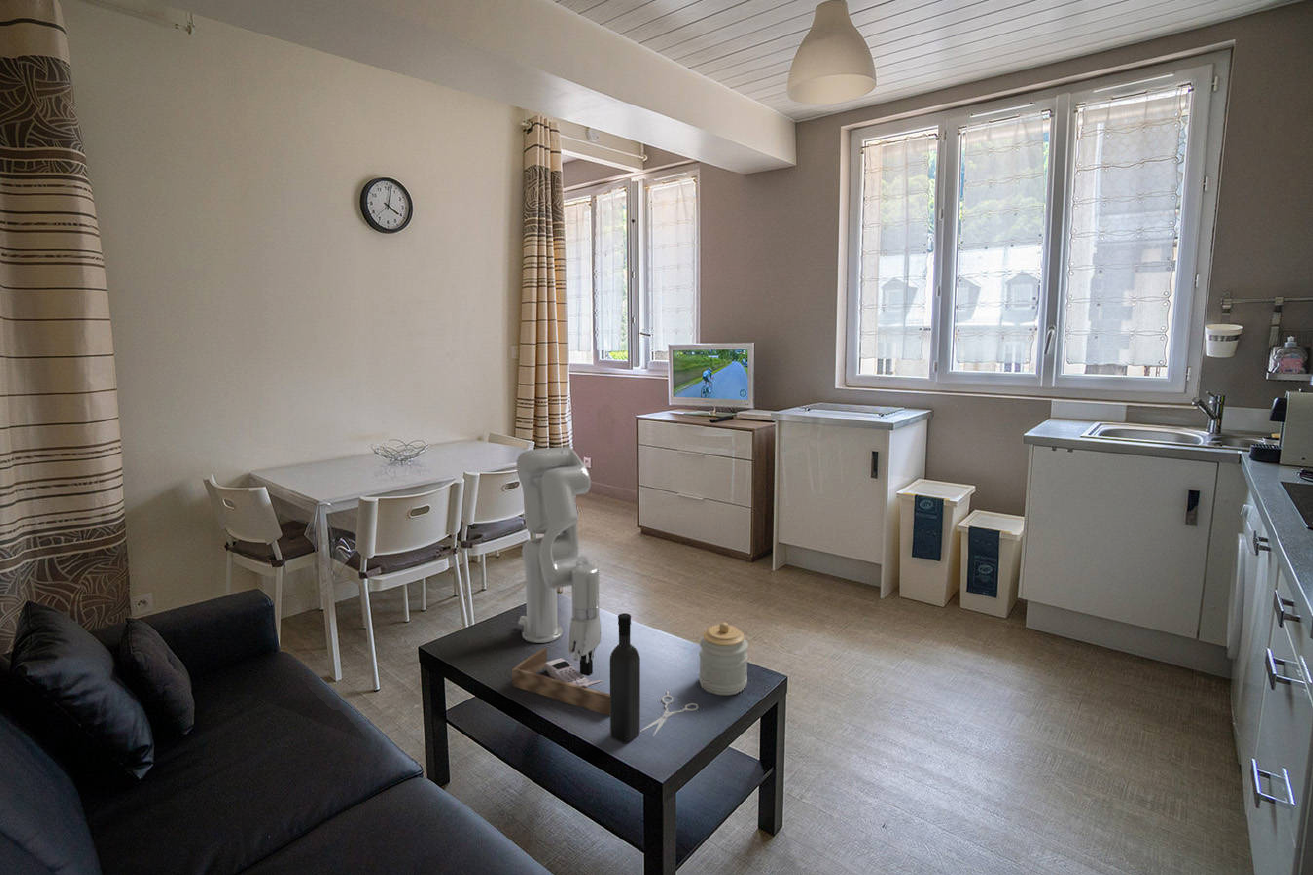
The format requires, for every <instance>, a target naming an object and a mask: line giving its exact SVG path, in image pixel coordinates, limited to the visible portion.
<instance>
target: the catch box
mask: <svg viewBox="0 0 1313 875" xmlns="http://www.w3.org/2000/svg"><path fill="white" fill-rule="evenodd" d="M547 652H548V650H547V648H546V647H542V649H540V650H538V651H537V652H535V653H534V654H532V655H530V656H529V657H528V658H526V659H525V660H523V661H522V662H520V663H519V664H518V665H516V666H514V667H513V668H512V669H511V670H512V671H511V672H512V687H515V688H518V689H521V690H523V691H528V692H530V693H535V694H538V695H540V696H544V697H547V698H551V699H553V700H558V701H561V702H565V703H567V704H571V705H574V706H577V707H581V708H584V709H586V710H591V711H593V710H594V711H593V712H597V713H600V714H603V715H607V716H610V693H606V692H602V691H598V690H595V689H592V688H589V687H587V688H585V687H582V686H578V685H575V684H571V683H568V682H564V681H561V680H557V679H554V678H553V677H551V676H546V675H543V674H539V673H537V672H539V671H540V670H541V669H542V670H543V668H545V663H547V662H548V661H547V660H548V659H547V658H548V656H547Z"/></svg>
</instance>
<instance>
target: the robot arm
mask: <svg viewBox="0 0 1313 875" xmlns="http://www.w3.org/2000/svg"><path fill="white" fill-rule="evenodd" d="M516 472H517V475H518V476H517V477H518V478H519V482H520V484H521V488H522V491H523V507H524V519H525V527H526V530H527V531H528V532H529V533H530V534H535V535H537V534H538V535H539V534H543V536H540V537H534V538H531V539H528V540H527V541H526V542H525V543H524V544H523V546H522V550H521V551H522V552H521V554H522V559H523V560H522V561H523V565H524V572H525V589H526V597H525V598H526V615H520V618H519V621H518V625H519V626H523V627H524V629H523V630H522V632H521V634H522V638H523V639H524V640H525V641H527V642H530V643H535V644H536V643H537V644H539V643H541V644H543V643H550V642H554V641H555V640H556V641H557V640H558V639H559V638H561V637H562V636H563V633H564V632H563V627H561V625H559V623H558V589H561V588H566V587H571V618H570V622H569V630H568V653H569V654H573V657H572V658H573V661H575V662H579V672H580V673H581V674H582V675H583V676H587V677H590V676H591V675H593V673H594V672H593V671H594V664H593V663H594V661H593V660H594V657H595V651H596V649H597V648H598V647H599V645H600V644H601V642H602V625H601V624H602V623H601V615H600V612H601V611H600V571H599V569H598V567H597V566H595V565H594V564H593V561H592V560H591V559H590V558H589V557H588V556H586V555H585V556H583V555H581V556H578V555H579V540H578V538H579V537H578V534H579V533H578V521H579V514H578V509H577V505H576V499H575V496H576V495H581V494H587V493H588V492H589V491H590V489H591V486H592V482H591V475H590V471H589V470H588V468H587V467H586V465H585V463H584V461H582V459H581V458H580V457H579V455H578V454H577V452H575V450H573V449H572V448H570V447H566V446H564V447H561V446H560V447H553V448H552V447H551V448H539V449H529V450H525V451H524V452H521V453H520V454H519V455H518V457H517V459H516Z"/></svg>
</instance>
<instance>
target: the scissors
mask: <svg viewBox="0 0 1313 875" xmlns="http://www.w3.org/2000/svg"><path fill="white" fill-rule="evenodd" d="M667 698H670V701H666V700H665V699H667ZM674 700H675V699H674V697H673V696H672V695H670V692H669V691H666V695H664V696H663V697H661V702H662V703H663V704H664V708H665V711H664V712H663V715H662V716H661V717H659V718H657V719H656V720H654V721H653V722H652V723H650V724H648V725H646V727H644V728H642V729H641V730H640V732H639V733H641V732H643V731H644V730H647V729H649V728H651V727H653V726H655V725H657V724H658V725H657V727H656V729H655V731H654V734H653V736H652V737H655V735H656V734H657V733H658V731H659V730H660V729H661V728H662V726H663V725H664V724H665V722H666V721H667V720H668V718H670V717H673V716H675V715H676V714H682V713H683V712H693V711H696V710H698V709H699V705H698V703H695V702H690V703H687V704H685V705H684V708H683V709H681V710H675V711H670V710H669V708H668V706H669V705H670V704H673V703H674V702H675V701H674ZM690 706H695V708H688V707H690Z"/></svg>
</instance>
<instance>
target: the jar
mask: <svg viewBox="0 0 1313 875" xmlns="http://www.w3.org/2000/svg"><path fill="white" fill-rule="evenodd" d="M745 637H746V636H745V634H744V632H743V631H742V630H740V629H739V628H737V627H735V626H734V625H733V626H732V625H729V624H728V623H727V622H721V623H720V624H716V625H713V626H710V627H709V628H707V629H705V630H704V632H703V633H702V638H701V639H700V641H699V645H700V648H701V650H700V651H699V674H698V675H699V677H698V679H699V684H700V686H701V688H702V689H703V690H705V691H706V692H708V693H710V694H713V695H715V696H734V695H737V694H740V693H741V692H743V691H744V690H745V689H746V687H747V683H748V682H747V681H748V676H747V665H748V664H747V662H748V654H747V649H748V647H749V645H748V642H747V640H746V638H745ZM745 686H746V687H745ZM744 688H745V689H744ZM742 690H743V691H742ZM739 692H740V693H739Z"/></svg>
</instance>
